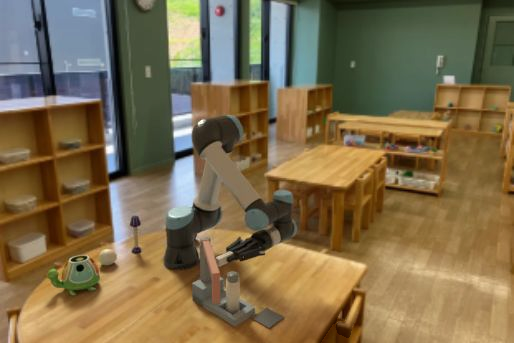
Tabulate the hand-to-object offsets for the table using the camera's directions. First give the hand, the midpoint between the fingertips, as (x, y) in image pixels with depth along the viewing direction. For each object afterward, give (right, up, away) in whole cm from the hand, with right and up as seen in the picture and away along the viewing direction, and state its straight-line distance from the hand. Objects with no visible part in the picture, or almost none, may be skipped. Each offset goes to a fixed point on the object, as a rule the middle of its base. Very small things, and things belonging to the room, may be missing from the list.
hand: (217, 262), depth 135 cm
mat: (+16, -21, +9) cm, 28 cm away
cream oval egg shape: (-50, -10, +42) cm, 66 cm away
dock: (+1, -19, +15) cm, 24 cm away
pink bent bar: (-3, -8, +6) cm, 10 cm away
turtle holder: (-56, -15, +25) cm, 63 cm away
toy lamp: (-41, -7, +54) cm, 69 cm away
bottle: (+4, -20, +11) cm, 23 cm away
